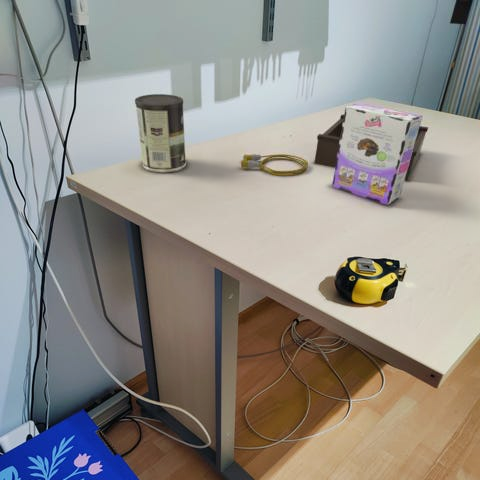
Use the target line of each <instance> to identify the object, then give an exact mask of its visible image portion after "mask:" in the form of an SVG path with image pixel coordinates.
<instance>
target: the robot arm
mask: <svg viewBox="0 0 480 480" xmlns="http://www.w3.org/2000/svg"><path fill="white" fill-rule="evenodd" d="M473 1H474V0H455V4H454V6H453V10H452V14H451V17H450V21H449V24H450V25H451V24H453V25H466V24H467V21H468V17H469V13H470V11H471V7H472V4H473Z"/></svg>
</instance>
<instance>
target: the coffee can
mask: <svg viewBox="0 0 480 480" xmlns="http://www.w3.org/2000/svg"><path fill="white" fill-rule="evenodd" d="M134 105H135V107H136V115H137V117H136V118H137V125H138V134H139V144H140V151H141V158H142V159H141V160H142V161H141V162H142V168H144V169H145V170H147V171H149V172H153V173H173V172H178V171H181V170H183V169H185V168H186V167H187V162H186V160H187V159H186V141H185V123H184V121H185V120H184V99H183V98H182V97H180V96H177V95H173V94H167V93H166V94H164V93H158V94H157V93H154V94H153V93H152V94H146V95H140V96H137V97H135V99H134Z"/></svg>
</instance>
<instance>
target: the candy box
mask: <svg viewBox="0 0 480 480" xmlns="http://www.w3.org/2000/svg"><path fill="white" fill-rule="evenodd" d="M343 115H344V119H343V125H342V131H341V137H340V142H339V148H338V154H337V160H336V166H335V167H334V173H333V179H332V184H331V187H332V188H335V189H337V190H340V191H344V192H346V193H350V194H353V195H354V196H355V195H356V196H358V197H360V198H361V197H362V198H365V199H367V200H370V201H373V202H376V203H379V204H382V205H386V206H388V205H390V204H392V203H393V202H395V201H398V200H399V199H400V197H401V194H402V190H403V186H404V183H405V181H404V180H405V177H406V173H407V169H408V166H409V163H410V159H411V155H412V152H413V148H414V145H415V141H416V138H417V134H418V131H419V127H420V126H421V124H422V120H423V115H420V114H415V113H410V112H405V111H401V110H395V109H392V108H387V107H382V106H378V105H373V104H367V103H363V102H358V103H355V104H351V105H347V106H345V108H344V113H343Z"/></svg>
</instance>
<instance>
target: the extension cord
mask: <svg viewBox="0 0 480 480" xmlns="http://www.w3.org/2000/svg"><path fill="white" fill-rule="evenodd" d="M242 157H243V159H242V160H241V161H240V162H241V164H240V166H241V168H247V169H255V168H256V169H257V168H260V169H261V170H262V171H264V172H266V173H268V174H270V175H274V176H280V177H281V176H282V177H283V176H284V177H285V176H286V177H287V176H295V175H298V174H301V173H303V172H305V171H306V169H307V168H308V167H309V162H308V161H307V160H306V159H304V158H302V157H300V156H297V155H292V154H269V155H261V154H255V153H251V154H244V155H243V156H242ZM262 158H264V159H263V160H261V159H262ZM260 160H261V162H260ZM272 160H286V161H292V162H295V163H298V164H300V165H301V166H302V167H301V168H298V169H293V170H292V169H291V170H276V169H272V168H270V167H267V166H266V165H263V164H264V163H266V162H268V161H272Z"/></svg>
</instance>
